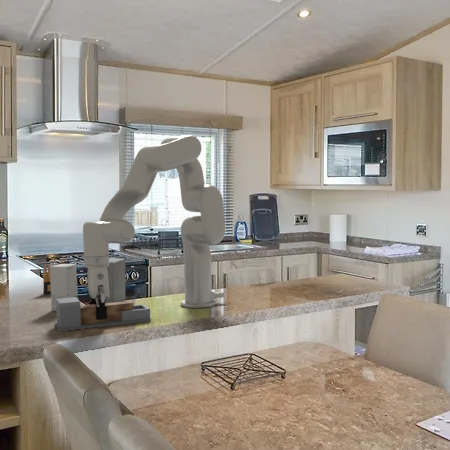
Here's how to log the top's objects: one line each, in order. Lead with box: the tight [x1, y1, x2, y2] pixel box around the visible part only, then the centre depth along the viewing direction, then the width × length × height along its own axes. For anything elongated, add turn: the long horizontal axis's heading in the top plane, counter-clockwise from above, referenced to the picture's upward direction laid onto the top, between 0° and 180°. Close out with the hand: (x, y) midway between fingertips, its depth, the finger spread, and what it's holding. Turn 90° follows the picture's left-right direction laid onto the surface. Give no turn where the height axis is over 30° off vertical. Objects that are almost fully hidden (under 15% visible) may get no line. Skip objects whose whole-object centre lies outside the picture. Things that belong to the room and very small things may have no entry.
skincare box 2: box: [105, 257, 126, 303], centre depth 206 cm, size 8×7×16 cm
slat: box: [80, 300, 134, 324], centre depth 174 cm, size 19×4×5 cm, turn 114°
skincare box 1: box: [50, 263, 79, 312], centre depth 195 cm, size 8×7×16 cm
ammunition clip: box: [42, 262, 69, 296], centre depth 225 cm, size 11×2×12 cm, turn 111°
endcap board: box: [54, 297, 152, 333], centre depth 174 cm, size 28×9×8 cm, turn 114°
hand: (98, 316), depth 174 cm, fingers open, 9 cm apart
